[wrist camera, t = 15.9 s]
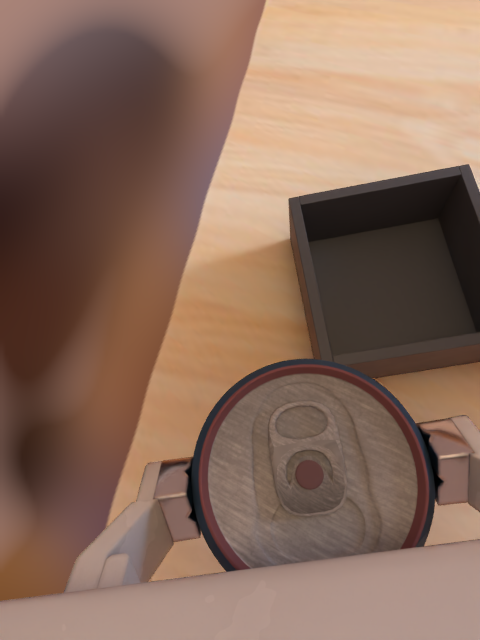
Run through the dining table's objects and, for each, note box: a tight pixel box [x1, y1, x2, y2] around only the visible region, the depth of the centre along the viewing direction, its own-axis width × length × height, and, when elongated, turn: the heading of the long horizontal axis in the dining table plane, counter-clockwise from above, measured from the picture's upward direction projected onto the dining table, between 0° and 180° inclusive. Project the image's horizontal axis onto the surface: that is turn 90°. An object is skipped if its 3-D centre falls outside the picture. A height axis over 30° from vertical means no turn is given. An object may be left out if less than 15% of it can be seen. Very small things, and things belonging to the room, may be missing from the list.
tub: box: [289, 164, 480, 378], centre depth 34 cm, size 14×14×6 cm
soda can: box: [191, 359, 435, 572], centre depth 17 cm, size 7×7×12 cm
